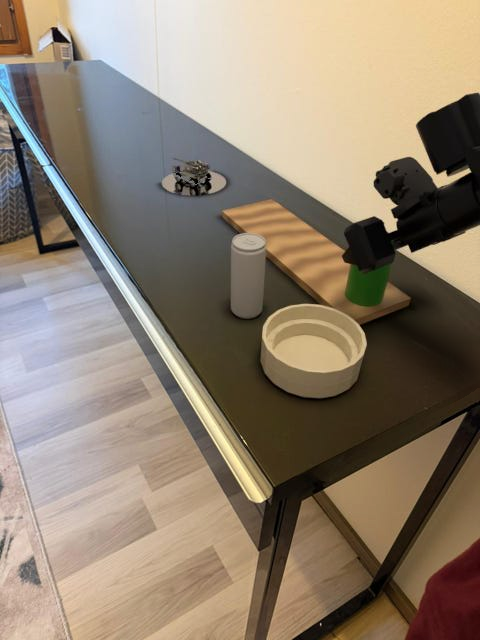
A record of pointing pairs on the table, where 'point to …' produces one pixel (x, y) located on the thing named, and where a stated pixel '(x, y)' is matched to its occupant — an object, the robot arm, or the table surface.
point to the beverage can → (247, 274)
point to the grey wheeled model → (193, 179)
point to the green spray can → (367, 285)
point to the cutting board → (308, 258)
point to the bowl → (312, 350)
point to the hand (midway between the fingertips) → (366, 250)
